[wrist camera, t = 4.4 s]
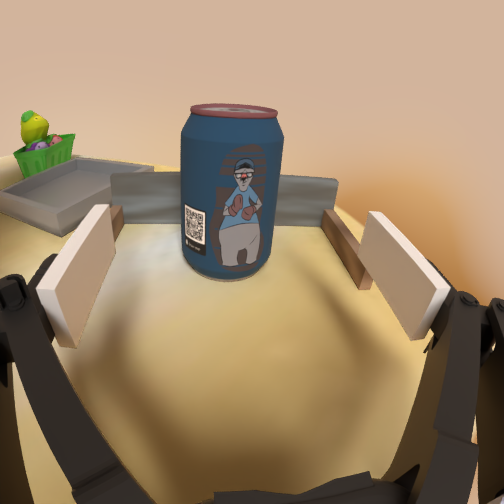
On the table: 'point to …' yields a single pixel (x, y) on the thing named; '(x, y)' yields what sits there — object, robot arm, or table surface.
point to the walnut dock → (287, 213)
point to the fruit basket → (41, 145)
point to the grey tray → (63, 193)
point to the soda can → (229, 188)
